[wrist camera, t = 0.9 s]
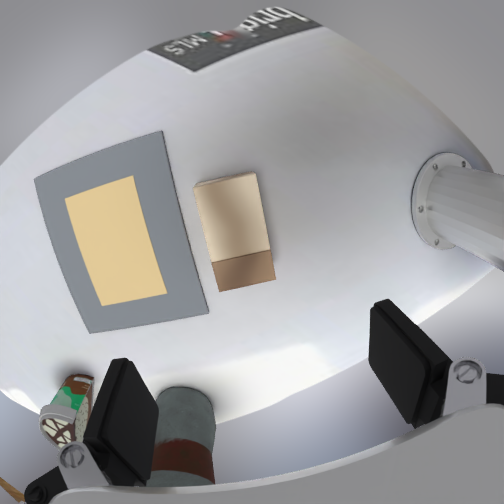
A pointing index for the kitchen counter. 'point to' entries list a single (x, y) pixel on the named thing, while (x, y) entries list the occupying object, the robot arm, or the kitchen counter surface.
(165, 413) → the bottle
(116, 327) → the mat
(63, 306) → the kitchen counter surface
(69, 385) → the food container
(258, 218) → the birch block
